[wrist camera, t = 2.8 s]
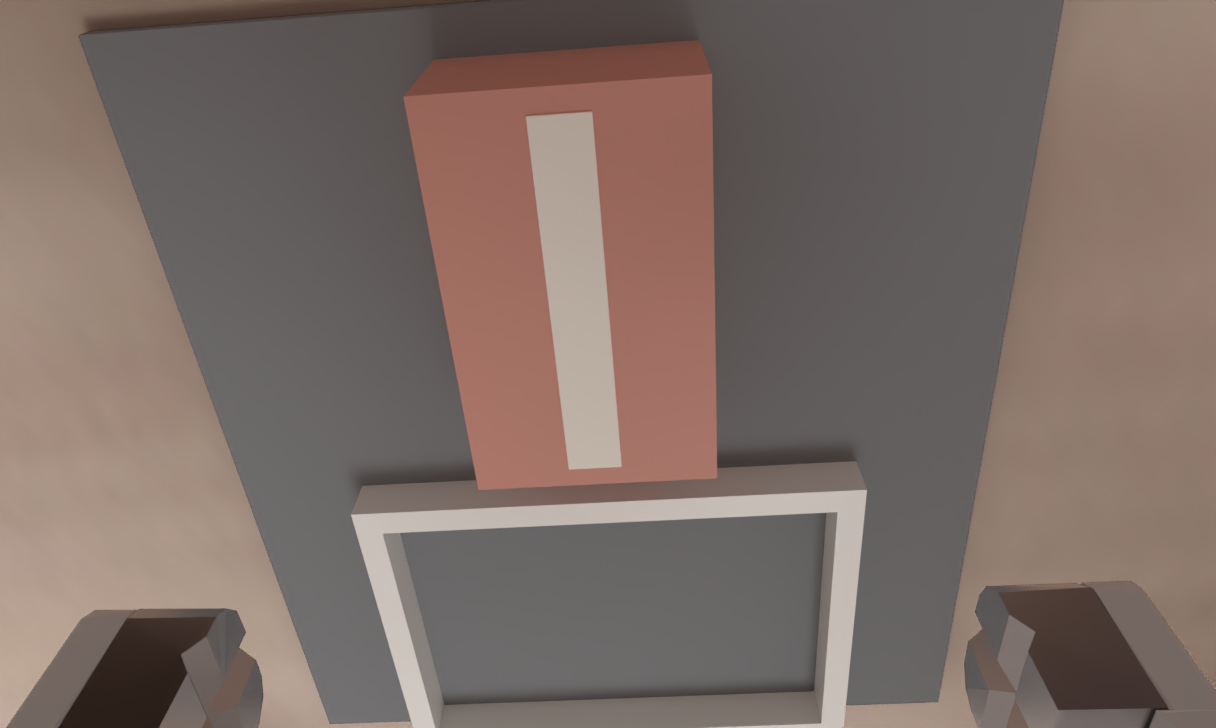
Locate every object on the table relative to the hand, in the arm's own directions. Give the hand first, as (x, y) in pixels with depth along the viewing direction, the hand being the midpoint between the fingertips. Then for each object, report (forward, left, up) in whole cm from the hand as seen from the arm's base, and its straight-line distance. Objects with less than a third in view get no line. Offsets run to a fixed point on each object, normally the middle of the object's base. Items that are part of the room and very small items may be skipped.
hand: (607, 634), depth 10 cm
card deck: (+1, +1, -12) cm, 12 cm away
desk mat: (+1, +6, -13) cm, 14 cm away
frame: (+1, +12, -12) cm, 17 cm away
